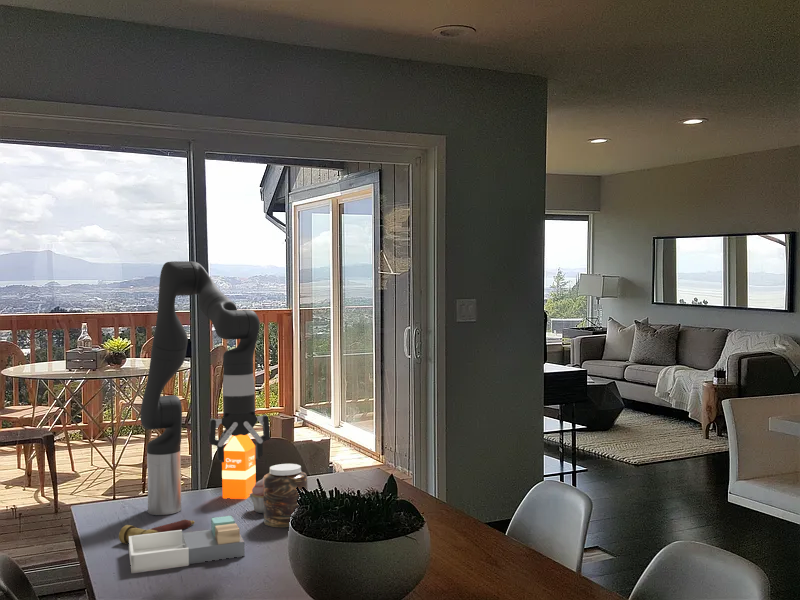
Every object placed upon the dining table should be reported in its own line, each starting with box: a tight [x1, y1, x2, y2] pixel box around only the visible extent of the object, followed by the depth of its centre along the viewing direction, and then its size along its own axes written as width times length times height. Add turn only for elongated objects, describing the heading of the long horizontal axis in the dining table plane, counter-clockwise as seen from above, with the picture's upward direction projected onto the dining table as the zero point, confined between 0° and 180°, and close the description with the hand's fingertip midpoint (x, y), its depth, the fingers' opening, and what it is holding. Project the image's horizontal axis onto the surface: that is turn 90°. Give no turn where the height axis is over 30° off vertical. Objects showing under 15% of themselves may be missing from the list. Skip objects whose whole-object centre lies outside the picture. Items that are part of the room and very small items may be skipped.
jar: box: [263, 463, 309, 528], centre depth 210 cm, size 12×12×15 cm
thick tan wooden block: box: [215, 522, 241, 544], centre depth 184 cm, size 5×5×3 cm
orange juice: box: [221, 434, 257, 500], centre depth 238 cm, size 8×9×20 cm
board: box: [182, 529, 246, 565], centre depth 186 cm, size 13×13×4 cm
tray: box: [128, 530, 190, 574], centre depth 182 cm, size 15×12×4 cm
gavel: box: [118, 519, 196, 545], centre depth 199 cm, size 21×5×10 cm
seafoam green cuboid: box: [210, 515, 236, 536], centre depth 191 cm, size 5×5×3 cm
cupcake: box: [249, 476, 264, 514], centre depth 221 cm, size 9×9×10 cm
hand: (240, 460), depth 185 cm, fingers open, 8 cm apart
